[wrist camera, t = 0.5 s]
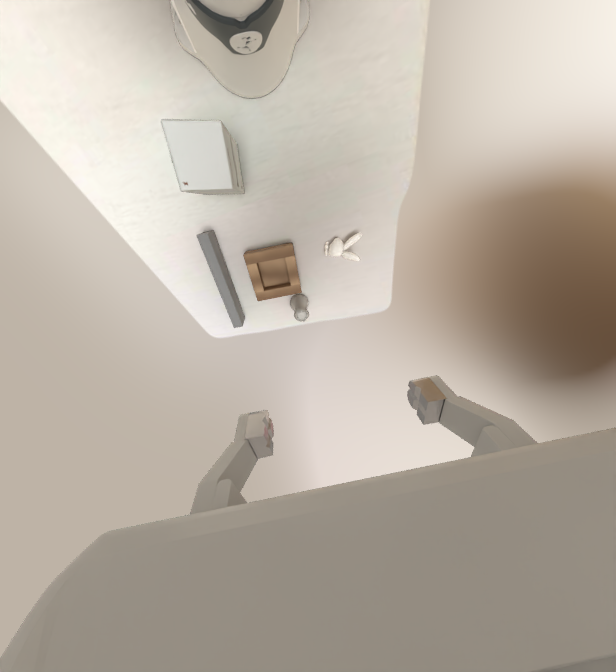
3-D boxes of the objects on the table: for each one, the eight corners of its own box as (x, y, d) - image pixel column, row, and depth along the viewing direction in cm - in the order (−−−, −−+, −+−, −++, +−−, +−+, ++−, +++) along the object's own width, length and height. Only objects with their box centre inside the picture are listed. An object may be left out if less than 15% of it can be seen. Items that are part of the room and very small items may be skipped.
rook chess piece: (293, 312, 55) (294, 327, 48) (287, 296, 52) (289, 310, 46) (309, 307, 55) (314, 322, 48) (305, 291, 52) (309, 304, 46)
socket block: (245, 251, 46) (243, 255, 43) (291, 242, 46) (292, 245, 43) (259, 295, 51) (257, 301, 48) (300, 287, 51) (301, 292, 48)
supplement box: (245, 194, 41) (233, 191, 30) (205, 195, 40) (178, 192, 30) (238, 142, 37) (221, 118, 26) (193, 142, 36) (157, 118, 26)
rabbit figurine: (324, 230, 46) (363, 228, 43) (328, 239, 49) (364, 238, 47) (320, 257, 46) (359, 258, 43) (325, 265, 49) (361, 265, 47)
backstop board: (203, 232, 43) (196, 235, 40) (213, 230, 43) (207, 233, 40) (237, 319, 54) (234, 327, 50) (245, 317, 54) (242, 326, 50)
